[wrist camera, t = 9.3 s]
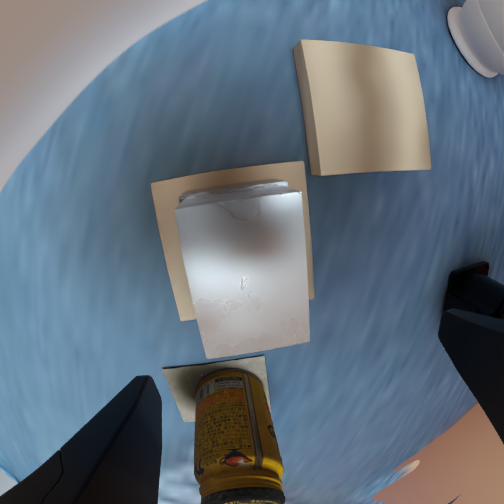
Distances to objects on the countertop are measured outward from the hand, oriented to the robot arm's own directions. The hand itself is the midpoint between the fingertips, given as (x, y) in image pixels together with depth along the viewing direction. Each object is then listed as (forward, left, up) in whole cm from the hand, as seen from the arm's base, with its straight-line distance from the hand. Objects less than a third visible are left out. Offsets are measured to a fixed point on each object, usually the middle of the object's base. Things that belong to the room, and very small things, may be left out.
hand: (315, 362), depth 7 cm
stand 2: (-9, -9, -13) cm, 18 cm away
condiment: (+5, +13, -13) cm, 19 cm away
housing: (+1, -1, -11) cm, 11 cm away
